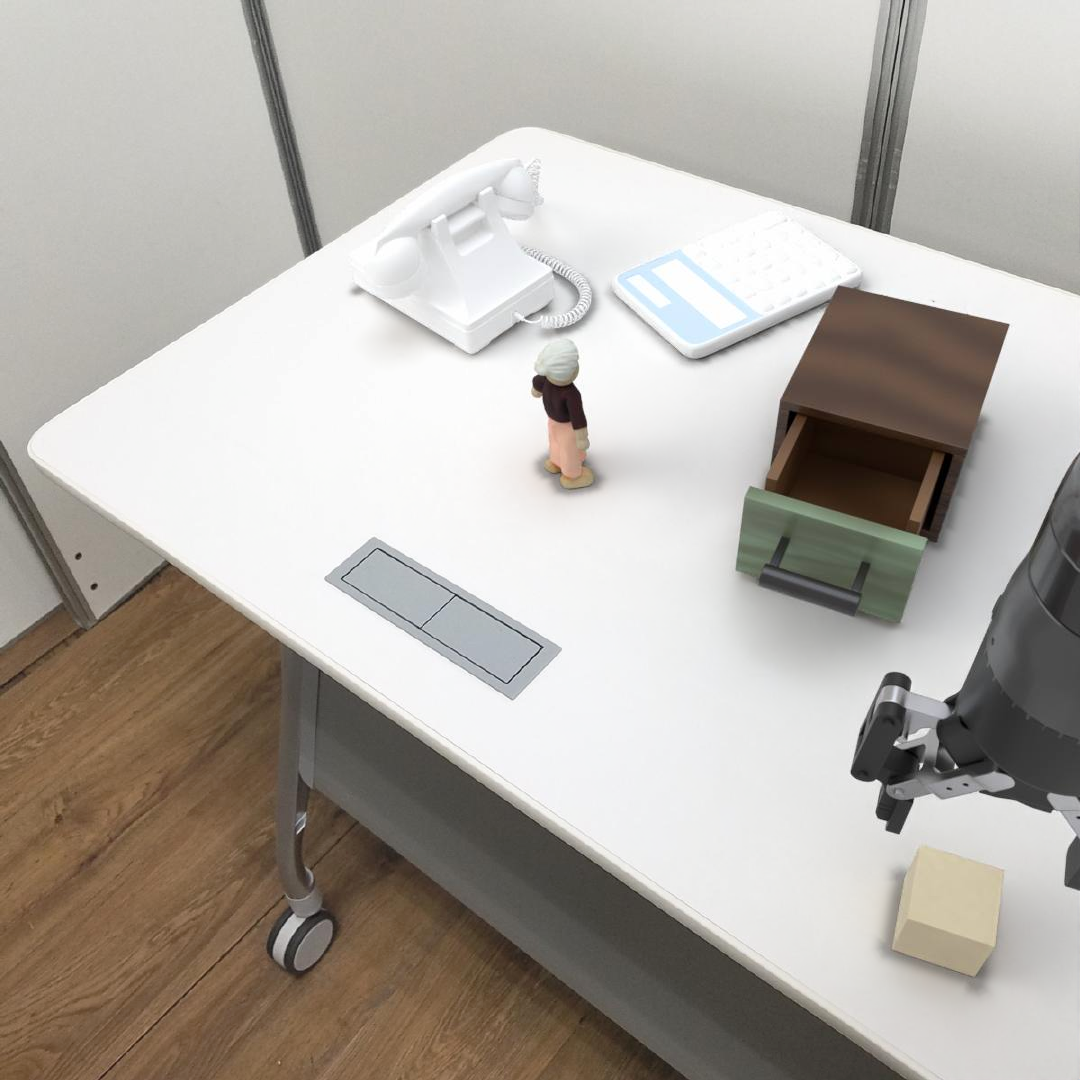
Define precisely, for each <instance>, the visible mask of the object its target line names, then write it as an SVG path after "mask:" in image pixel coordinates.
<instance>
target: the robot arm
mask: <svg viewBox="0 0 1080 1080" xmlns="http://www.w3.org/2000/svg"><path fill="white" fill-rule="evenodd" d="M911 688H912V679H911V678H910V677H909V676H908V675H907V674H906V673H903V672H899V671H890V672H887V673H885V675H884V676H883V678H882V680H881V683H880V684H879V686H878V689H877V691H876V693H875V695H874V698H873V700H872V702H871V704H870V706H869V709H868V711H867V713H866V715H865V718H864V720H863V722H862V724H861V726H860V728H859V731H858V736H857V740H856V746H855V750H854V754H853V758H852V763H851V767H850V772H849V773H850V775H851V776H852V778H854V779H856V780H857V781H860V782H862V783H872V782H874V781H876V780H877V781H878V782H879V783H881V786H880V789H879V794H878V798H877V803H876V808H875V816H876V818H877V819H878V820H881V821H884V822H885V827H884V830H885V832H889V833H892V834H895V835H898V836H899V835H900V834H901V833H902V830H903V828H904V825H905V824H906V821H907V818H908V817H909V814H910V812H911V809H912V807H913V805H914V802H915V799H916V798H921V797H924V796H928V795H929V796H930V795H934V796H935V797H936V798H938V799H939V800H941V801H942V800H949V799H952V798H956V797H961V796H964V795H968V794H973V793H977V792H978V793H979V794H983V795H987V796H988V797H989V796H990V797H993V798H997V799H1003V800H1009V801H1015V802H1018V803H1021V804H1022V805H1025V806H1027V807H1029V808H1031V809H1034V810H1037V811H1040V812H1044V813H1048V814H1052V812H1053V811H1056V812H1060V813H1061V815H1062V817H1063V818H1064V819H1065V820H1066V822H1067V823H1068V825H1069V826H1070V828H1071V829H1072V830H1073V832H1074V833H1075V837H1074V838H1073V840H1072V841H1071V842H1070V844H1069V846H1068V848H1067V851H1066V854H1065V866H1064V876H1063V878H1064V879H1063V885H1064V887H1066V888H1070V889H1072V890H1076V891H1079V892H1080V451H1079V452H1078V453H1077V455H1076V456H1075V457H1074V459H1073V460H1072V461H1071V463H1070V464H1069V466H1068V468H1067V470H1066V471H1065V473H1064V475H1063V477H1062V478H1061V481H1060V483H1059V485H1058V487H1057V489H1056V491H1055V493H1054V495H1053V499H1052V500H1051V502H1050V505H1049V507H1048V509H1047V511H1046V513H1045V516H1044V518H1043V520H1042V523H1041V524H1040V527H1039V529H1038V531H1037V534H1036V536H1035V538H1034V541H1033V543H1032V545H1031V546H1030V548H1029V550H1028V552H1027V553H1026V555H1024V558H1023V559H1022V560H1021V561H1020V563H1019V564H1018V565H1017V567H1016V569H1015V570H1014V572H1013V573H1012V574H1011V577H1010V579H1009V581H1008V583H1007V584H1006V586H1005V588H1004V590H1003V592H1002V593H1001V594H999V596H998V598H997V600H996V601H995V603H994V605H993V608H992V611H991V617H990V623H989V624H988V627H987V629H986V631H985V633H984V636H983V639H982V641H981V642H980V645H979V648H978V649H977V652H976V655H975V657H974V659H973V662H972V663H971V666H970V669H969V670H968V672H967V675H966V677H965V679H964V681H963V684H962V686H961V689H960V690H959V691H958V692H956V693H954V694H952V695H950V696H948V697H946V698H945V699H944V700H943V701H942V700H937V699H935V698H932V697H929V696H925V695H922V694H920V693H919V694H918V693H915V692H912V691H911ZM922 729H929V730H928V732H927V733H926V734H925V735H923V736H921V737H917V738H914V739H911V740H908V739H909V736H911V735H914V734H917V732H918V731H920V730H922ZM896 742H898V744H896ZM921 764H922V766H921ZM955 765H956V766H955ZM955 767H957V768H955Z"/></svg>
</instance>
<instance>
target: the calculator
mask: <svg viewBox="0 0 1080 1080" xmlns="http://www.w3.org/2000/svg"><path fill="white" fill-rule="evenodd" d="M863 275H864V274H863V271H862V268H861V267H859V265H858V264H856V263H855V262H854V261H852V260H851V259H850V258H848V257H847V256H845V255H844V254H842V253H841V252H840V251H838V250H837V249H835V248H834V247H832V246H831V245H830V244H828V243H827V242H825V241H824V240H823V239H821V238H820V237H818V236H817V235H816V234H814V233H813V232H811V231H809V230H808V229H807V228H805V227H804V226H802V225H801V224H799V223H798V222H797V221H795V220H794V219H793V218H791V217H790V216H789V215H786V214H785V213H783V212H782V211H779V210H769V211H765V212H763V213H760V214H757V215H755V216H753V217H750V218H747V219H746V220H743V221H740V222H739V223H735V224H734V225H731V226H729V227H726V228H724V229H722V230H719V231H716V232H714V233H712V234H709V235H707V236H704V237H702V238H700V239H697V240H695V241H693V242H690V243H687V244H685V245H682V246H680V247H678V248H676V249H673V250H671V251H668V252H666V253H663V254H661V255H659V256H656V257H654V258H652V259H649V260H647V261H644V262H641V263H639V264H636V265H634V266H632V267H630V268H628V269H625V270H623V271H621V272H619V273H617V274H616V275H615V276H614V277H613V278H612V282H611V283H612V285H611V286H612V290H613V292H614V293H615V295H616V296H617V297H618V298H619V299H620V300H621V301H622V302H624V304H626V305H627V306H628V307H629V308H630V309H631V310H632V311H634V312H635V313H636V314H637V315H638V316H639V317H640V318H641V319H643V321H644V322H646V323H647V324H648V325H649V326H650V327H651V328H653V329H654V330H655V331H656V332H657V333H658V334H659V335H660V336H661V337H662V338H663V339H665V340H666V341H667V342H668V343H669V344H671V345H672V346H673V347H674V348H675V349H676V350H677V351H678V352H680V353H681V354H682V355H683V356H685V357H687V358H689V359H692V360H697V359H702V358H704V357H707V356H710V355H712V354H714V353H717V352H718V351H721V350H723V349H725V348H727V347H730V346H732V345H734V344H736V343H739V342H741V341H743V340H745V339H747V338H750V337H752V336H753V335H756V334H758V333H761V332H762V331H764V330H767V329H769V328H771V327H774V326H775V325H778V324H780V323H782V322H784V321H787V320H789V319H791V318H793V317H795V316H798V315H800V314H802V313H805V312H807V311H809V310H811V309H813V308H815V307H817V306H819V305H822V304H825V303H826V302H828V301H830V300H831V298H832V296H833V294H834V292H835V290H836V288H837V286H838V285H840V286H844V287H849V288H853V289H856V288H857V287H858V286H859V285H860V284H861V282H862V280H863V277H864V276H863Z"/></svg>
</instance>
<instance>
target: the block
mask: <svg viewBox="0 0 1080 1080" xmlns="http://www.w3.org/2000/svg"><path fill="white" fill-rule="evenodd" d="M1004 876H1005V870H1004V869H1002V868H999V867H995V866H993V865H989V864H986V863H982V862H979V861H976V860H972V859H969V858H966V857H962V856H959V855H956V854H953V853H949V852H946V851H943V850H940V849H937V848H933V847H931V846H928V845H923V844H919V845H918V848H917V851H916V852H915V855H914V857H913V859H912V861H911V863H910V865H909V868H908V869H907V871H906V874H905V876H904V879H903V883H902V891H901V896H900V902H899V907H898V912H897V918H896V923H895V928H894V933H893V935H894V936H893V939H892V945H891V950H892V951H895V952H898V953H901V954H904V955H907V956H910V957H913V958H916V959H919V960H922V961H924V962H927V963H930V964H934V965H936V966H940V967H943V968H946V969H948V970H952V971H955V972H958V973H961V974H964V975H967V976H970V977H973V978H975V977H976V975H977V974H978V973H979V971H980V970H981V968H982V967H983V965H984V964H985V962H986V961H987V959H988V958H989V956H991V954H992V952H993V951H994V950H995V948H996V943H997V937H998V927H999V920H1000V919H999V918H1000V910H1001V901H1002V893H1003V887H1004Z"/></svg>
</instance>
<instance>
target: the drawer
mask: <svg viewBox="0 0 1080 1080" xmlns="http://www.w3.org/2000/svg"><path fill="white" fill-rule="evenodd" d="M946 455H947V452H943V451H939V450H935V449H932V448H928V447H924V446H920V445H917V444H913V443H909V442H906V441H902V440H898V439H894V438H891V437H887V436H883V435H880V434H876V433H872V432H868V431H865V430H861V429H857V428H854V427H850V426H846V425H842V424H839V423H835V422H831V421H827V420H824V419H820V418H816V417H813V416H809V415H805V414H801V413H797V415H796V417H795V419H794V421H793V423H792V425H791V427H790V429H789V431H788V433H787V435H786V437H785V439H784V442H783V444H782V446H781V448H780V450H779V452H778V454H777V456H776V458H775V460H774V462H773V464H772V466H771V465H770V466H771V468H770V467H769V470H768V472H767V474H766V476H765V481H764V489H763V488H760V487H756V486H752V485H749V487H748V489H747V491H746V493H745V495H744V498H743V507H742V514H741V522H740V530H739V537H738V546H737V553H736V561H735V571H736V572H739V573H743V574H745V575H748V576H752V577H754V578H758V581H757V586H758V587H760V588H764V589H767V590H768V591H769V590H770V591H773V592H775V593H778V594H781V595H785V596H788V597H791V598H794V599H798V600H800V601H803V602H806V603H810V604H813V605H816V606H819V607H822V608H825V609H828V610H832V611H834V612H836V613H841V614H843V615H846V616H850V617H853V618H855V617H856V616H857V613H858V611H860V612H863V613H866V614H869V615H872V616H876V617H878V618H881V619H885V620H887V621H890V622H894V623H896V624H901V622H902V620H903V616H904V613H905V610H906V608H907V604H908V601H909V598H910V594H911V592H912V588H913V585H914V582H915V580H916V576H917V574H918V570H919V567H920V564H921V561H922V558H923V554H924V552H925V548H926V546H927V542H928V539H927V538H925V537H922V536H919V535H920V532H921V530H922V527H923V524H924V521H925V518H926V515H927V512H928V510H929V507H930V504H931V501H932V498H933V495H934V492H935V490H936V487H937V483H938V480H939V477H940V474H941V471H942V468H943V464H944V461H945V458H946Z"/></svg>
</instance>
